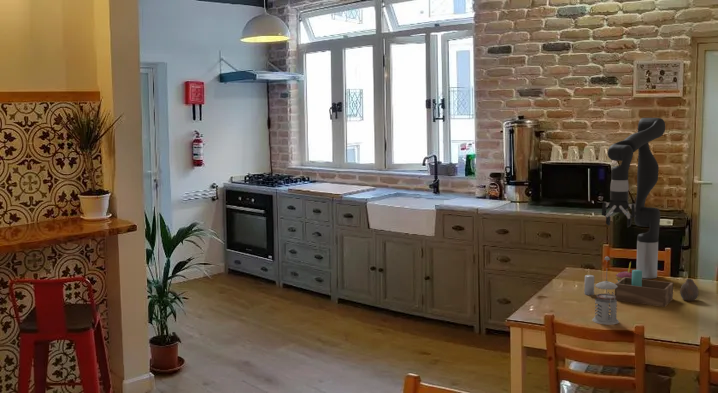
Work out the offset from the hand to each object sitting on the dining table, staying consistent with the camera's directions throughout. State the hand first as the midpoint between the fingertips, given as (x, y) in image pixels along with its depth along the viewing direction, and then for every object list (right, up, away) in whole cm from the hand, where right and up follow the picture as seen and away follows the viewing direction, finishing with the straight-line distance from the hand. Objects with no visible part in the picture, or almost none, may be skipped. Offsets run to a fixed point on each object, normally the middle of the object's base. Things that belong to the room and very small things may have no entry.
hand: (618, 226), depth 317 cm
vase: (+23, -30, -18) cm, 42 cm away
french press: (-21, -35, -46) cm, 61 cm away
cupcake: (+5, -28, +4) cm, 29 cm away
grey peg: (-15, -29, -6) cm, 34 cm away
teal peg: (+2, -30, -15) cm, 34 cm away
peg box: (+5, -30, -16) cm, 35 cm away
